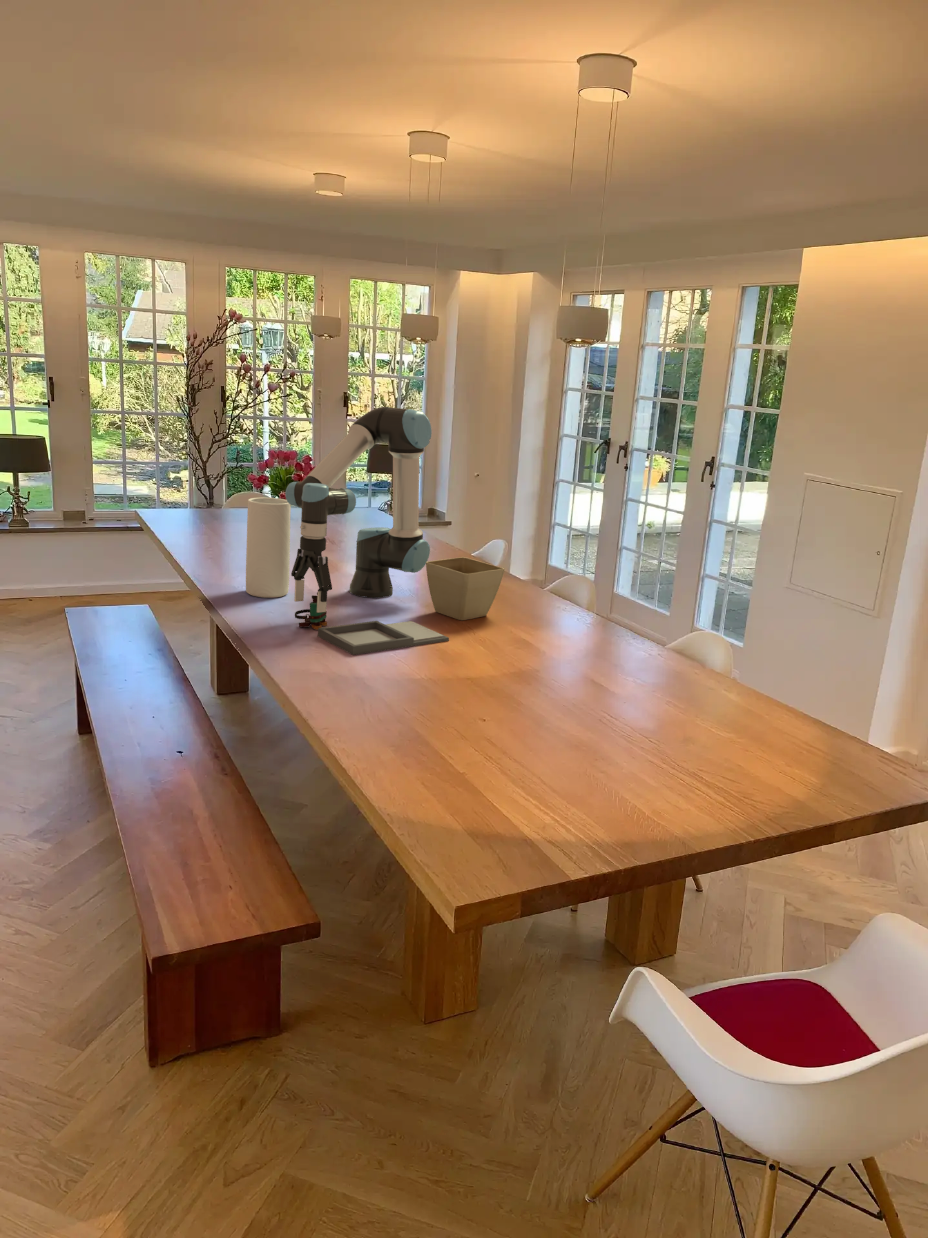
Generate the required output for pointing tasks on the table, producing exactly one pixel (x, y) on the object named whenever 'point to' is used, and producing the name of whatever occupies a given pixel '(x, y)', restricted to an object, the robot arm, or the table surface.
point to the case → (379, 636)
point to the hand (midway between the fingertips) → (309, 606)
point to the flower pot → (463, 586)
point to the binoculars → (312, 616)
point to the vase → (268, 547)
